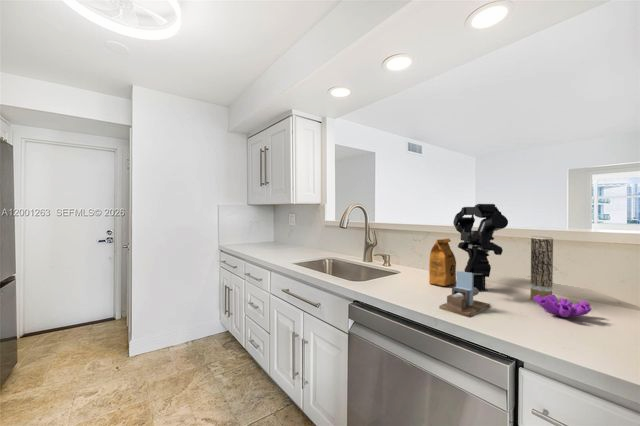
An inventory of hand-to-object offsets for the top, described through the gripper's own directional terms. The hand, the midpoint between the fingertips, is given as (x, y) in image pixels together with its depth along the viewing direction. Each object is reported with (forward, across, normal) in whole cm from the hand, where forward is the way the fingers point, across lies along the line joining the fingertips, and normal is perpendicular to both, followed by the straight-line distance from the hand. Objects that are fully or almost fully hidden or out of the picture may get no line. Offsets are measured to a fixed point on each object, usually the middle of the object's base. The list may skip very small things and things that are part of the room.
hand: (471, 266), depth 110 cm
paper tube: (-1, +4, +30) cm, 30 cm away
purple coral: (+6, +20, +22) cm, 30 cm away
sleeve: (+15, +9, -4) cm, 19 cm away
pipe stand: (+17, +8, -3) cm, 19 cm away
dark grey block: (+17, +10, -6) cm, 20 cm away
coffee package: (+9, -22, +6) cm, 25 cm away
